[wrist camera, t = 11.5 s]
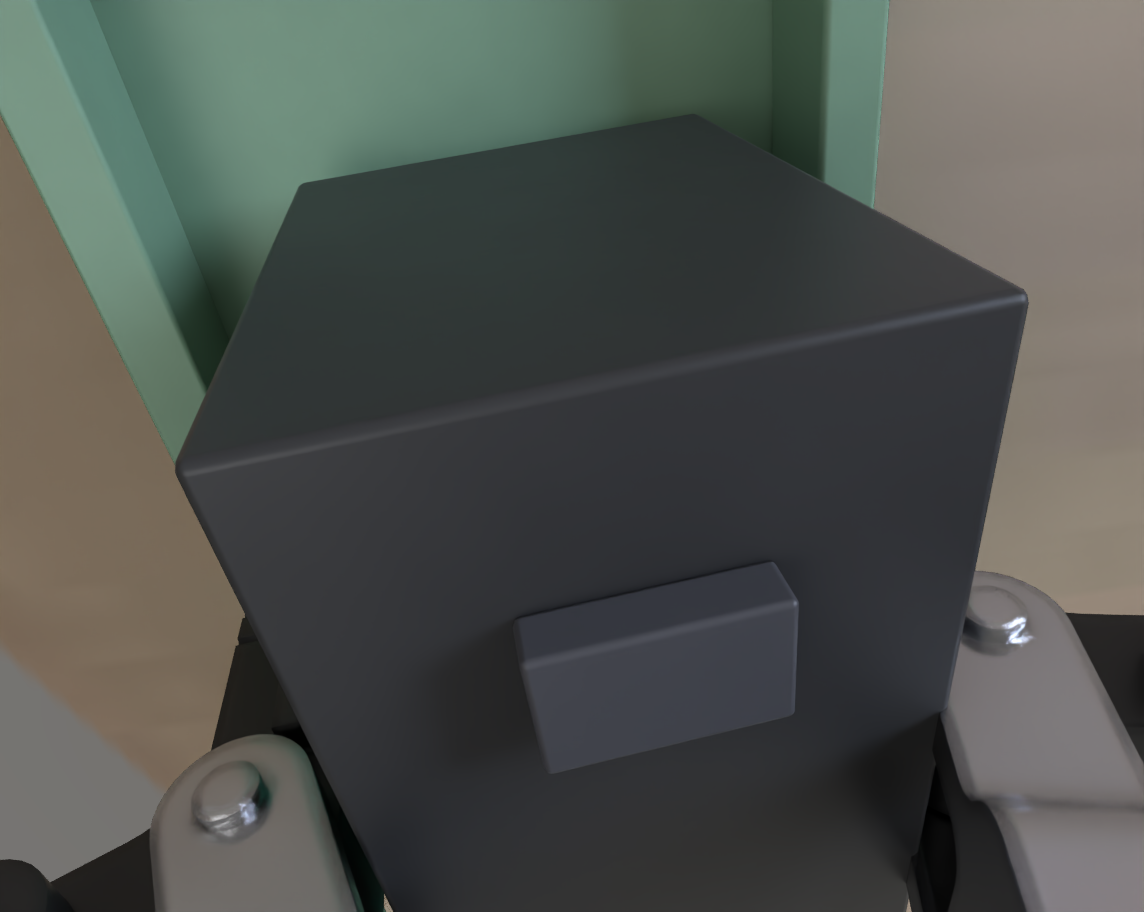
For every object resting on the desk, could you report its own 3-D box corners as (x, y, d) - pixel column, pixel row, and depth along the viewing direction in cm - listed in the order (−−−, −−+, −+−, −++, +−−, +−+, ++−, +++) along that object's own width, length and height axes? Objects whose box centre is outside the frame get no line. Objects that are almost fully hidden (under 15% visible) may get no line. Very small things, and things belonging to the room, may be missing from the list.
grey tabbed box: (456, 728, 13) (490, 1193, 8) (278, 185, 8) (92, 526, 3) (719, 666, 14) (902, 1076, 9) (697, 111, 9) (1096, 319, 4)
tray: (820, -386, 8) (930, -477, 6) (790, 744, 17) (829, 823, 16) (-84, -265, 7) (-227, -331, 5) (406, 839, 17) (407, 932, 15)
